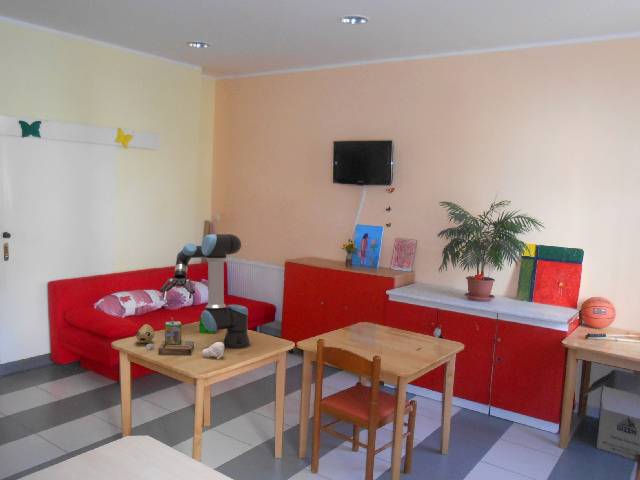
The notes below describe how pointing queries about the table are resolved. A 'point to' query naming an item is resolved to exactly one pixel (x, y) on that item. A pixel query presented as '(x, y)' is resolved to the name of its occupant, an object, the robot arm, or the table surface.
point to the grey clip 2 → (187, 341)
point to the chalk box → (173, 332)
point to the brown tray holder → (175, 349)
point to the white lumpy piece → (214, 350)
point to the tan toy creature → (145, 334)
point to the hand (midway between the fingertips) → (176, 302)
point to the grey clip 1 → (149, 347)
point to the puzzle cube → (203, 329)
